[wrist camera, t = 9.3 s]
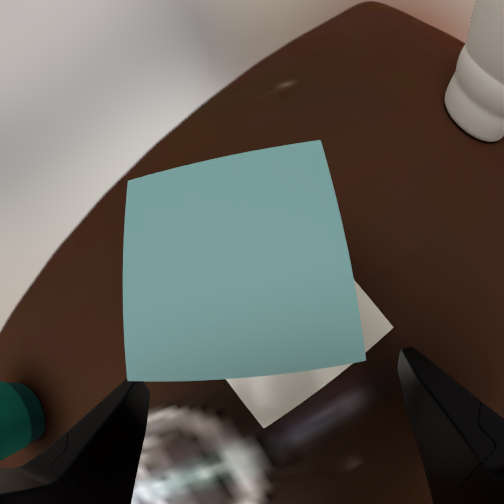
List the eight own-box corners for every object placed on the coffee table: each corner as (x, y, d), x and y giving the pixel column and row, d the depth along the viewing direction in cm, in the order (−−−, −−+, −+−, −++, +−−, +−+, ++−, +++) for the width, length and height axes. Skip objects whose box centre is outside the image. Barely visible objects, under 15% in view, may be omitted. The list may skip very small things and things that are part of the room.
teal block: (326, 351, 18) (366, 361, 5) (244, 362, 18) (127, 380, 6) (314, 271, 19) (320, 139, 7) (236, 283, 20) (127, 181, 8)
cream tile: (388, 328, 18) (393, 327, 17) (266, 424, 18) (263, 428, 17) (293, 218, 22) (292, 210, 21) (180, 305, 21) (173, 303, 20)
